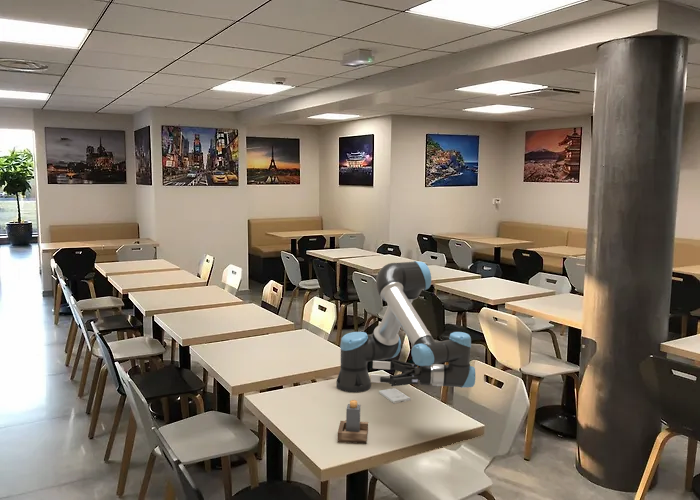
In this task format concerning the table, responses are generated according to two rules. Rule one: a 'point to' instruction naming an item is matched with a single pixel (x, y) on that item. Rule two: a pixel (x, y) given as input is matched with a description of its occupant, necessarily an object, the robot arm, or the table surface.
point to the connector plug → (353, 417)
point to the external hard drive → (394, 395)
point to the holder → (353, 434)
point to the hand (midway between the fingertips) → (371, 371)
